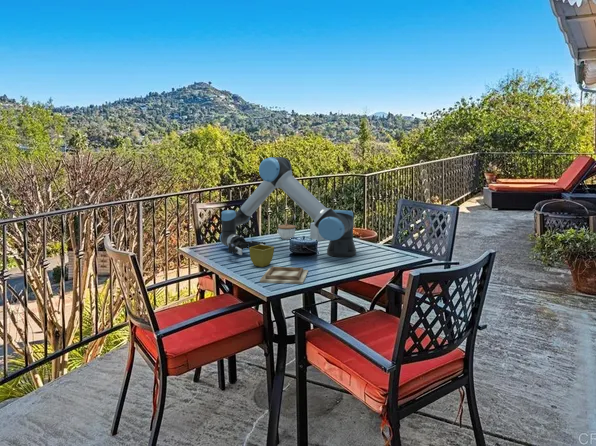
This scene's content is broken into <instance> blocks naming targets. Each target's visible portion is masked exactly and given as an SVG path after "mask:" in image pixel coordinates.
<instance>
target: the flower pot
mask: <svg viewBox="0 0 596 446" xmlns="http://www.w3.org/2000/svg"><path fill="white" fill-rule="evenodd" d="M248 250H249V251H248V252H249V257H250V260H251V262H252V264H253V266H256V267H260V268H265V267H267V266H269V265H270V264H271V263H272V261H273V257H274V252H275V246H272V245H256V246H253V247H250V248H248Z"/></svg>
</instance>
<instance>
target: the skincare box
mask: <svg viewBox="0 0 596 446" xmlns="http://www.w3.org/2000/svg"><path fill="white" fill-rule="evenodd" d="M309 230H310V231H309V239H310V238H312V239H316V240H318V241H317V242H320V241H321V242H322V241H324V240H326V239H324V238H323V237H322V236H321V235H320V234H319V230H318V228H317V227H316V226H315V225H314V221H313V222H310V228H309Z"/></svg>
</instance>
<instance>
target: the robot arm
mask: <svg viewBox="0 0 596 446" xmlns="http://www.w3.org/2000/svg"><path fill="white" fill-rule="evenodd" d="M258 173H259V176H260V178H261V179H262V180H263V181H262V182H261V183H260V184H259V185H258V186H257V188H255V190H254V191H253V192H252V193H251V194H250V195H249V197H248V198H247V199H246V200H245V201H244V202H243V204H242V205H241V206H240V207H239V208H238V210H237V211H235V210H232V209H227V210H226V209H225V210H222V211H221V219H220V220H221V233H220V235H219V241H220V243H221V244H223V246H226V247H227V248H228V253H232V255H234V254H235V253H236V254H238V255H240V256H242V255H243V250H244V249H249V248H250V247H253V246H256V245H266V244H267V243H266V242H264V241H257V240H250V241H249V240H248V241H247V240H246V239H245V238H244V237H243V236H241V235H237V227H238V226H241V225H245V224H247V223H248V222H249V221H250V220H251V216H252V215H253V214H254V213H255V212H256V211H257V210H258V209H259V208H260V206H261V205H262V204H263V202H265V200H266V199H267V198H268V197H269V196H270V195H271V194H272V193H273V192H274V191H275V190H276V189H281V190H282V191H283V192H284V193H285V194H286V195H287V196H288V197H289V198H290V199H291V200H293V201H294V203H295V204H297V206H298V207H299V208H300V209H301V210H303V211H304V212H305V213H306V214H307V215H308V217H310V218H311V219H312V221H313V222H314V225H315V226H316V227H317V228H318V230H319V234H320V235H321V236H322V237H323V238H324V239H325V240H326V241H329V243H328V246H327V248H326V249H327V250H326V254H327V256H330V257H336V258H350V257H354V256H356V255H357V248H356V245H355V242H354V218H355V217H354V212H353V211H352V210H343V209H342V210H341V209H332V207H326V206H325V205H324V204H323V203H321V202H320V201H319V200H318V198H317V197H315V196H314V195H313V193H311V192H310V191H309V190H308V189H307V188H306V187H305V186H304V185H303V184H302V183H300V181H299V180H298V179H296V177H294V175H293V171H292V164H291V162H290V161H289V160H288V158H285V157H283V156H278V157H276V156H275V157H272V156H270V157H267V158H265V159H263V160H262V161H261V162H260V164H259V166H258Z"/></svg>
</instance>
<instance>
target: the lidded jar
mask: <svg viewBox="0 0 596 446" xmlns="http://www.w3.org/2000/svg"><path fill="white" fill-rule="evenodd" d="M277 233H278V235H279V237H280V238H281V239H282V240H284V241H285V240H287V241H288V240H291V239H290V238H292V239H293V238H294V236H295V234H296V225H294V224H289V223H287V222H286V223H285V224H280V225H277Z"/></svg>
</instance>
